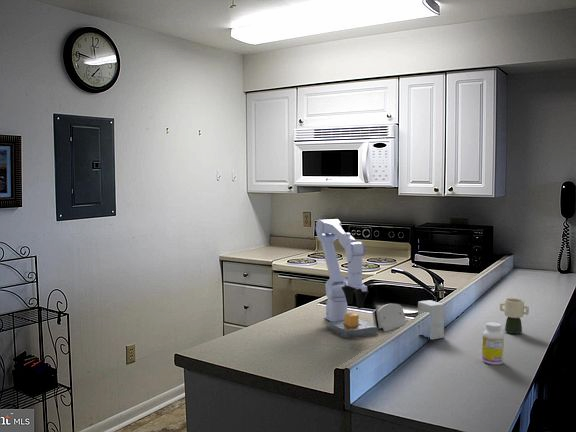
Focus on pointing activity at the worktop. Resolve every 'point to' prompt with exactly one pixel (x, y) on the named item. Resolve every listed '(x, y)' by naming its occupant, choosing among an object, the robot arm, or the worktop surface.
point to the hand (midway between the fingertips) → (354, 305)
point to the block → (351, 319)
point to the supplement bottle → (493, 344)
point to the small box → (434, 317)
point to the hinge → (389, 317)
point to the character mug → (514, 314)
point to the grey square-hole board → (352, 329)
